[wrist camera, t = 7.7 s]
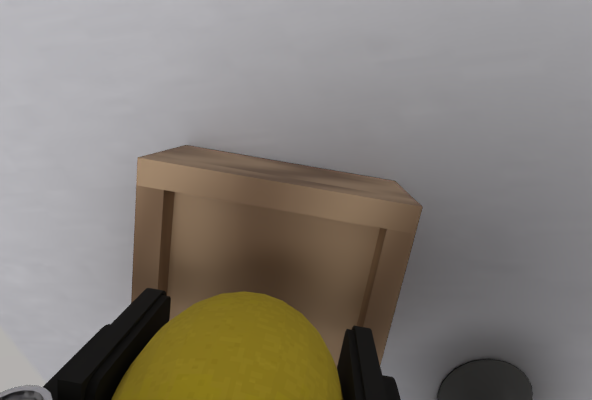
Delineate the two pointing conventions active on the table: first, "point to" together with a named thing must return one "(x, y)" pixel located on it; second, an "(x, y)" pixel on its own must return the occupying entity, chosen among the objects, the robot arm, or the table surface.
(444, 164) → the table surface
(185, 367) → the lemon
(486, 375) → the sundae
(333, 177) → the wooden open box
